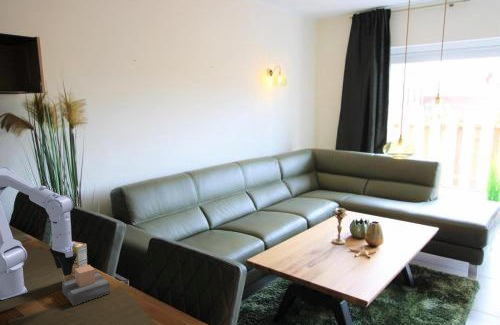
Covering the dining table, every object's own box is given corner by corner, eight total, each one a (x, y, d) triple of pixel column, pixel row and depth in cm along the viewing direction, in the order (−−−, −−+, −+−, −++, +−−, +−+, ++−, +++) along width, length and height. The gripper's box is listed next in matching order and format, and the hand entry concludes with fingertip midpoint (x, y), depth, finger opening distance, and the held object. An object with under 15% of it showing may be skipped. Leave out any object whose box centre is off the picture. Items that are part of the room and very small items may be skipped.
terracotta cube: (75, 282, 126) (74, 268, 125) (90, 278, 129) (89, 264, 129) (80, 287, 122) (79, 273, 122) (95, 282, 126) (94, 269, 125)
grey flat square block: (62, 292, 127) (61, 282, 126) (97, 282, 135) (96, 271, 134) (73, 306, 118) (72, 294, 118) (110, 293, 126) (109, 282, 126)
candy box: (62, 282, 134) (60, 243, 132) (72, 278, 138) (69, 239, 136) (79, 287, 131) (77, 247, 129) (89, 282, 135) (86, 243, 132)
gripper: (81, 235, 117) (83, 274, 119) (67, 225, 128) (69, 261, 130) (58, 240, 113) (60, 281, 114) (45, 229, 123) (47, 266, 125)
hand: (63, 271), depth 122 cm, fingers open, 7 cm apart
